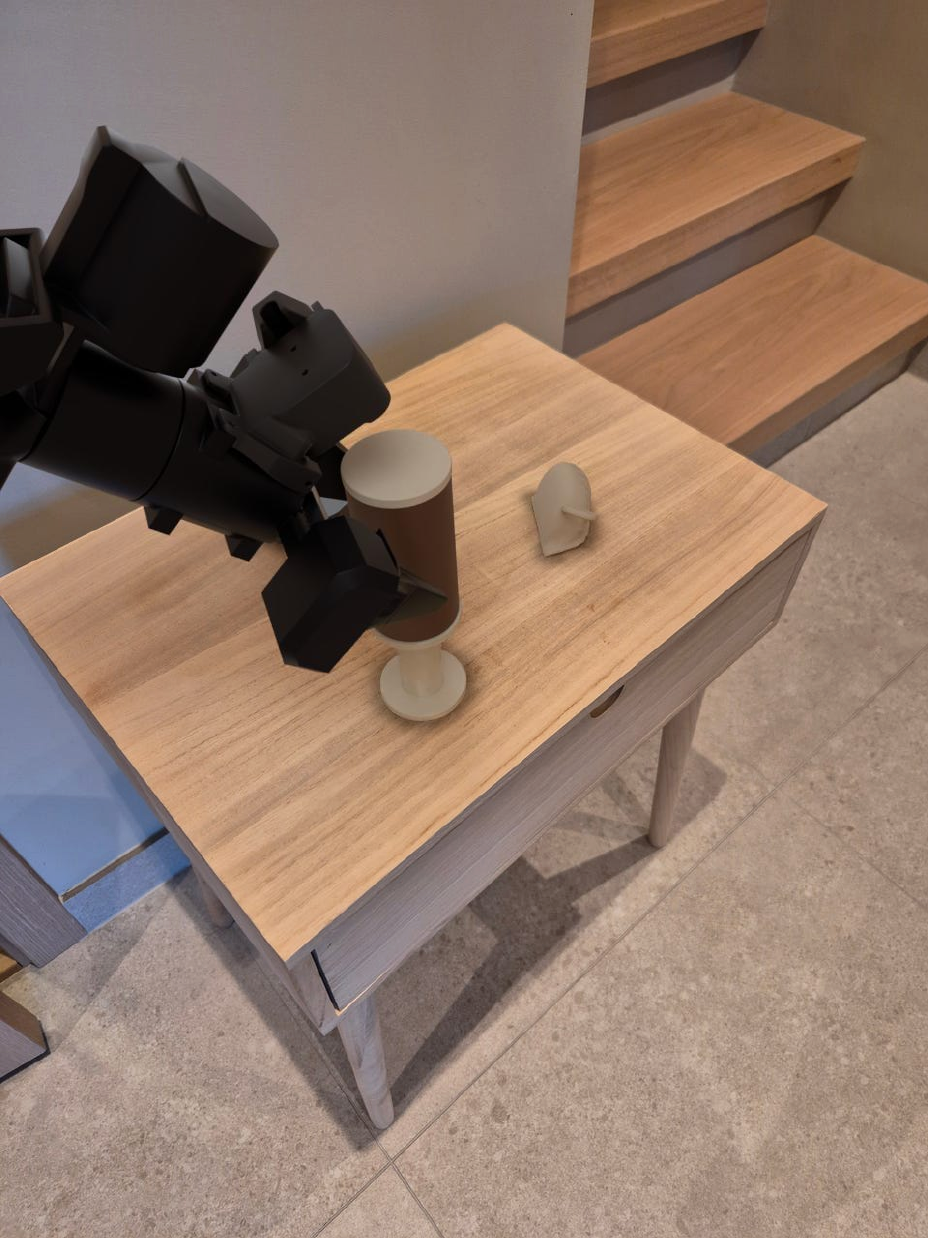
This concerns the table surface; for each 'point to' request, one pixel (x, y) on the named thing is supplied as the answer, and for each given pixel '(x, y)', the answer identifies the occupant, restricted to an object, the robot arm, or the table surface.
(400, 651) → the stand
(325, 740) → the table surface
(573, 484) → the beige curved piece
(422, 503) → the brown lidded canister
